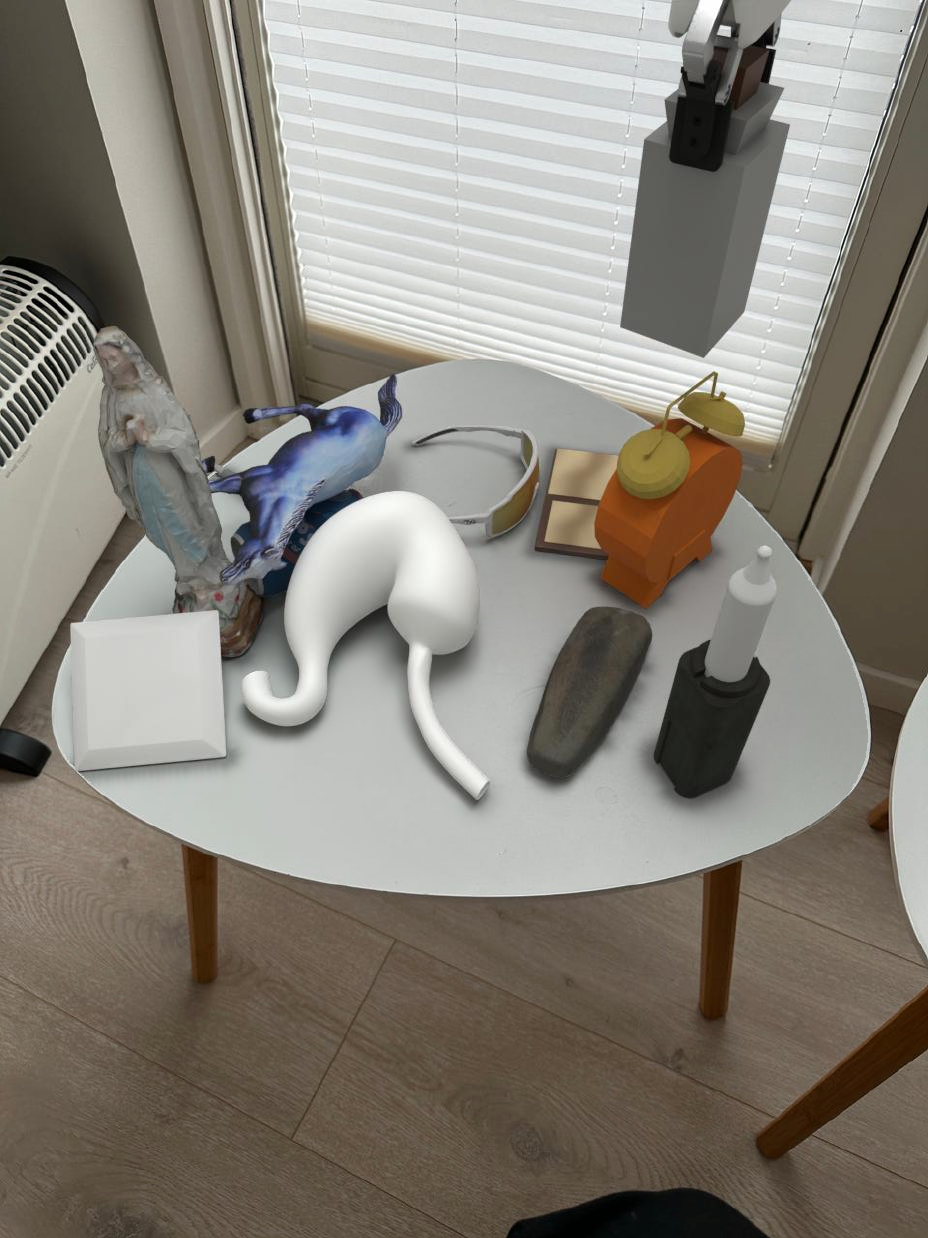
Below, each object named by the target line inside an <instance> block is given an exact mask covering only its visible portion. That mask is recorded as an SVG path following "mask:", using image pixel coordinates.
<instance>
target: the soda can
mask: <svg viewBox="0 0 928 1238" xmlns="http://www.w3.org/2000/svg"><path fill="white" fill-rule="evenodd" d="M363 498H365V497H364V496H363V495H362V494H361V493H360V492H359V491H358V490H357V489H355V488H349V489H348V488H347V489H345V490H344V491H342V492H341V493H339V494H337V495H335V496H333V497H331V498H328V499H326V500H324V501H321V502H318V503H315V504H313V505H312V506H311V507H310V508H308V509H307V510H306V512H305V514H304V516H303V519H302V520H301V522H300V523H299V524H298V525H297V527H296V528H295V530H294V531H293V532H292V534H291V536H290V538H289V540H288V542H287V544H286V546H285V549H284V551H283V555H282V556H281V560H282V561H283V562H287V565H286V566H285V567H284V568H282V569H280V570H271V571H268V572H267V574H266V575H265V576H264V578H261V579H255V578H247V579H244V581H245V584H246V585H248V584H249V586H250V587H251V589H253V590H254V591H255V592H256V594H257V595H260V596H264V597H275V596H278V595H280V594H282V593H285V592H287V590H288V586H289V582H290V579H291V576H292V573H293V570H294V568H295V565H296V563H297V561H298V559H299V557H300V555H301V553H302V551H303V549H304V548H305V546H306V544H307V543H308V541H309V540H310V539H311V537H312V536H313V535H314V533H315V532H316V531H317V530H318V529H319V528H320V527H321V526H322V525H323V524H324V523H325V522H326V521H327V520H328V519H329V518H331V517H332V516H333V515H335V514H336V513H337V512H339V511H340V510H342V509H344V508H345V507H347V506H349V505H351V504H352V503H354V502H357V501H359V500H361V499H363ZM249 538H250V520H249V521H247V522H244V523H242V524H241V525H240V526H238V528H237V529H236V530H235V532H234V533H233V534H232V536H231V537H230V548H231V552H232V555H233V558H234V559H235V557H236V553H237V550H238V549H239V547H240V546H241V545H242V544H243V543H244V541H246V540H248V539H249Z"/></svg>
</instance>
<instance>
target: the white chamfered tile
mask: <svg viewBox="0 0 928 1238" xmlns="http://www.w3.org/2000/svg"><path fill="white" fill-rule="evenodd" d="M69 627H70V658H71V661H70V662H71V664H70V665H71V697H72V733H73V765H74V767H73V769H74V771H75V772H82V771H91V770H103V769H115V768H124V767H125V768H126V767H132V766H133V767H134V766H135V767H136V766H143V765H144V766H145V765H154V764H155V765H156V764H165V763H175V762H187V761H197V760H207V759H218V758H225V757H226V756H227V743H226V741H227V740H226V739H227V738H226V725H225V724H226V723H225V721H226V720H225V706H224V705H225V703H224V685H223V670H222V669H223V668H222V656H221V648H220V629H219V612H218V611H217V610H212V611H201V612H189V613H178V614H173V613H168V614H157V615H156V614H155V615H147V616H135V617H124V618H123V617H122V618H111V619H100V620H89V621H78V622H71V623H70V625H69Z"/></svg>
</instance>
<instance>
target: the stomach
mask: <svg viewBox="0 0 928 1238" xmlns="http://www.w3.org/2000/svg"><path fill="white" fill-rule="evenodd" d="M447 517H448V516H447V515H446V514H445V512H444V511H443V510H442V509H441V508H440V507H439V506H438V505H437V504H436V503H434V502H433V501H431V500H430V499H429V498H427V497H425V496H424V495H421V494H418V493H415V492H411V491H405V490H392V491H384V492H380V493H375V494H371V495H369V496H366V497H364V498H363V499H361V500H359V501H357V502H354V503H352V504H351V505H349V506H347V507H345V508H344V509H342V510H340V511H339V512H337V513H336V514H335V515H333V516H332V517H331V518H329V519H328V520H327V521H326V522H325V523H324V524H323V525H322V526H321V527H320V528H319V529H318V530H317V531H316V532H315V533H314V535H313V536H312V537H311V539H310V540H309V541H308V543H307V544H306V546H305V548H304V549H303V551H302V553H301V555H300V557H299V559H298V561H297V563H296V565H295V568H294V570H293V573H292V576H291V579H290V582H289V586H288V590H287V591H286V595H285V599H284V600H285V601H284V610H283V611H284V612H283V621H284V622H283V624H284V631H285V636H286V640H287V643H288V646H289V648H290V650H291V653H292V655H293V656H294V659H295V661H296V663H297V666H298V667H297V668H298V673H299V674H298V682H297V686H296V689H295V692H294V694H293V695H291V696H289V697H286V698H285V697H283V698H281V697H277V696H274V693H273V689H272V684H271V676H270V674H269V673H268V671H265V670H256V671H252V672H250V673H248V674H246V675H245V676H244V677H243V678H242V680H241V684H240V689H241V690H240V691H241V697H242V700H243V703H244V705H245V707H246V708H247V709H248V710H249V712H251V713H252V714H253V715H254V716H256V717H257V718H259V719H261V720H262V721H265V722H266V723H269V724H272V725H275V726H279V727H294V726H299V725H302V724H305V723H307V722H309V721H310V720H312V719H314V717H315V716H317V714H319V712H320V711H321V710H322V708H323V707H324V705H325V703H326V700H327V696H328V670H329V669H328V668H329V664H330V663H329V662H330V660H331V659H330V658H331V655H332V653H333V651H334V649H335V647H336V645H337V644H338V642H339V641H340V640H341V638H342V637H343V636H344V635H345V634H346V633H347V632H348V631H349V630H350V629H351V628H352V627H353V626H355V625H356V624H357V623H358V622H360V621H361V620H362V619H364V618H365V617H367V616H368V615H370V614H371V613H373V612H375V611H377V610H379V609H380V608H382V607H384V606H386V605H387V615H388V618H389V620H390V622H391V624H392V625H393V627H394V628H395V629H396V631H397V632H398V633H399V635H400V636H401V637H402V639H404V641H405V642H406V643H407V644H408V646H409V651H408V660H407V669H406V670H407V671H406V672H407V675H406V676H407V687H408V688H407V689H408V699H409V704H410V709H411V711H412V714H413V717H414V719H415V722H416V724H417V726H418V728H419V731H420V733H421V735H422V738H423V739H424V742H425V744H426V746H427V747H428V749H429V750H430V751H431V753H432V754H433V756H434V757H435V759H436V760H437V761H438V762H439V763H440V765H441V766H442V767H443V768H444V770H446V772H448V774H449V775H450V776H451V777H452V778H453V779H454V780H455V781H456V782H457V783H458V784H459V785H460V786H461V787H462V788H463V789H464V790H465V791H466V792H467V793H468V794H470V795H471V796H472V797H473V798H474V799H475V800H477V801H478V800H480V799H481V798H482V797H483V795H484V794H486V791H487V789H488V788H489V786H490V784H491V780H490V779H489V778H488V777H487V776H486V775H485V774H484V773H483V771H481V769H480V768H479V767H477V766H476V764H474V762H473V761H471V760H470V759H469V758H468V756H466V754H464V753H463V751H462V750H461V749H460V748H459V747H458V746H457V744H456V743H454V741H453V740H452V739H451V738H450V736H449V735H448V733H447V732H446V730H445V729H444V727H443V726H442V724H441V722H440V721H439V718H438V716H437V713H436V710H435V707H434V702H433V699H432V694H431V689H430V676H431V670H432V669H431V667H432V662H433V655H436V656H443V655H449V654H453V653H455V652H457V651H459V650H461V649H463V648H464V647H466V646H467V645H468V644H469V643H470V641H472V638H473V636H474V634H475V631H476V628H477V625H478V620H479V616H480V607H481V588H480V581H479V577H478V573H477V570H476V569H477V568H476V566H475V564H474V561H473V558H472V557H471V554H470V552H469V551H468V549H467V547H466V545H465V543H464V541H463V540H462V538H461V536H460V535H459V533H458V531H457V530H456V528H455V526H454V524H453V523H451V522H450V520H449V519H448V518H447Z"/></svg>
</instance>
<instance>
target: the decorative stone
mask: <svg viewBox="0 0 928 1238" xmlns="http://www.w3.org/2000/svg"><path fill="white" fill-rule="evenodd" d="M648 621H649V620H647V618H646V617H645V616H643V615H641V614H640V613H636V612H635V611H634V610H630V609H626V608H622V607H616V606H607V605H605V606H604V605H602V606H601V605H600V606H594V607H593V606H592V607H591V608H588V609H587V610H586V611H585V612H584V613H583V614H582V616H581V617H580V618H579V619H578V621H577V622H576V623H575V625H574V627H573V628H572V630H571V632H570V633H569V635H568V637H567V639H565V642H564V644H563V645H562V647H561V648H560V651H559V652H558V655H557V657H556V659H555V660H554V663H553V665H552V668H551V670H550V673H549V675H548V678H547V681H546V684H545V687H544V690H543V693H542V696H541V699H540V703H539V706H538V709H537V712H536V714H535V717H534V720H533V722H532V726H531V730H530V732H529V738H528V742H527V746H526V752H525V753H526V757H527V760H528V763H529V764H530V765H531V766H532V768H533V769H535V770H536V771H537V772H538V773H540V774H544V775H546V776H550V777H554V778H567V777H569V776H571V775H573V774H574V773H575V772H576V771H577V770H578V769H579V768H580V767H581V766H582V765H583V764H585V762H586V761H587V760H588V759H589V758H590V757H591V755H593V753H594V752H595V751H596V750H597V749H598V747H599V746H601V745H600V744H601V743H602V742H603V741H604V739H605V737H606V736H607V735H608V733H609V731H610V730H611V728H612V726H613V725H614V723H615V721H616V719H617V718H618V716H619V714H620V712H621V711H622V709H623V707H624V705H625V703H626V701H627V699H628V697H629V696H630V694H631V691H632V689H633V688H634V685H635V683H636V681H637V678H638V676H639V674H640V671H641V669H642V667H643V664H644V663H645V660H646V657H647V654H648V651H649V649H650V646H651V644H652V640H653V631H652V628H651V624H650V622H648Z"/></svg>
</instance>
